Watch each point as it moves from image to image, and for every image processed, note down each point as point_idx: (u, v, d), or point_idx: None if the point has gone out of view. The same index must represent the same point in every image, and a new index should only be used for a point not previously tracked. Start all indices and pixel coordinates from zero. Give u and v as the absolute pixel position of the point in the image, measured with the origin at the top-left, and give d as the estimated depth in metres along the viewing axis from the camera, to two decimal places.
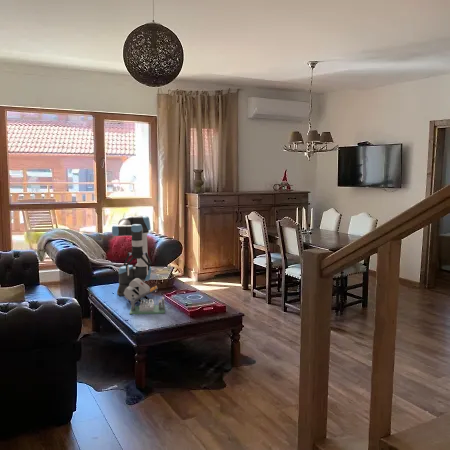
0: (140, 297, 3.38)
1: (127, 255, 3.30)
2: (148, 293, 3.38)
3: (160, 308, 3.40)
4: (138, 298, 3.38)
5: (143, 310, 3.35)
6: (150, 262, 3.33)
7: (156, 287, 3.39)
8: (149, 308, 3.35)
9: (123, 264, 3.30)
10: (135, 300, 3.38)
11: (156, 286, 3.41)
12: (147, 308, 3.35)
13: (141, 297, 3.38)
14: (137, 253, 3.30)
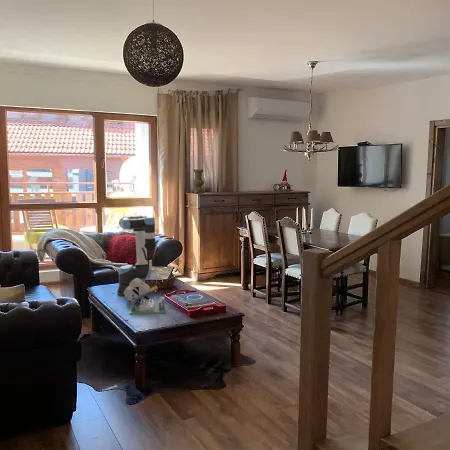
0: (140, 297, 3.38)
1: (142, 250, 3.42)
2: (148, 293, 3.38)
3: (160, 308, 3.40)
4: (138, 298, 3.38)
5: (143, 310, 3.35)
6: (155, 257, 3.44)
7: (156, 287, 3.39)
8: (149, 308, 3.35)
9: (145, 259, 3.43)
10: (135, 300, 3.38)
11: (156, 286, 3.41)
12: (147, 308, 3.35)
13: (141, 297, 3.38)
14: (150, 245, 3.42)
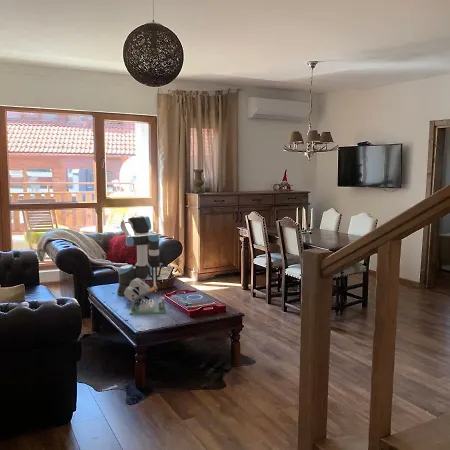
0: (140, 297, 3.38)
1: (146, 267, 3.36)
2: (148, 293, 3.38)
3: (160, 308, 3.40)
4: (138, 298, 3.38)
5: (143, 310, 3.35)
6: (159, 274, 3.38)
7: (156, 287, 3.39)
8: (149, 308, 3.35)
9: (149, 276, 3.37)
10: (135, 300, 3.38)
11: (156, 286, 3.41)
12: (147, 308, 3.35)
13: (141, 297, 3.38)
14: (154, 262, 3.36)
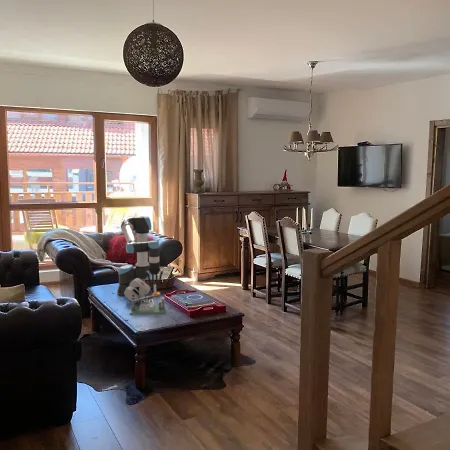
0: (141, 299, 3.38)
1: (146, 274, 3.36)
2: (150, 297, 3.39)
3: (160, 308, 3.40)
4: (139, 300, 3.38)
5: (143, 310, 3.35)
6: (159, 281, 3.38)
7: (159, 294, 3.40)
8: (149, 308, 3.35)
9: None
10: (135, 301, 3.38)
11: (159, 293, 3.42)
12: (147, 308, 3.35)
13: (142, 299, 3.38)
14: (154, 269, 3.37)
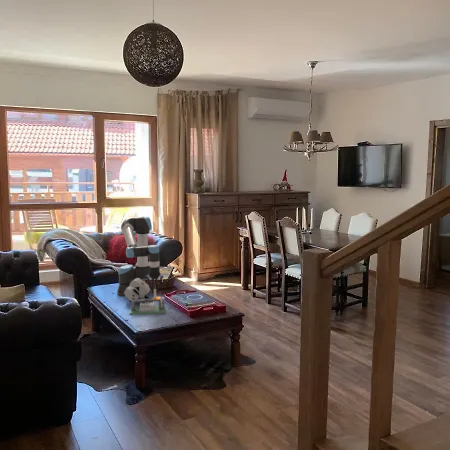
0: (141, 301, 3.38)
1: None
2: (150, 301, 3.39)
3: (160, 308, 3.40)
4: (139, 301, 3.38)
5: (143, 310, 3.35)
6: (159, 286, 3.39)
7: (160, 298, 3.41)
8: (149, 308, 3.35)
9: None
10: (135, 301, 3.38)
11: (160, 297, 3.43)
12: (147, 308, 3.35)
13: (142, 301, 3.38)
14: (154, 273, 3.37)
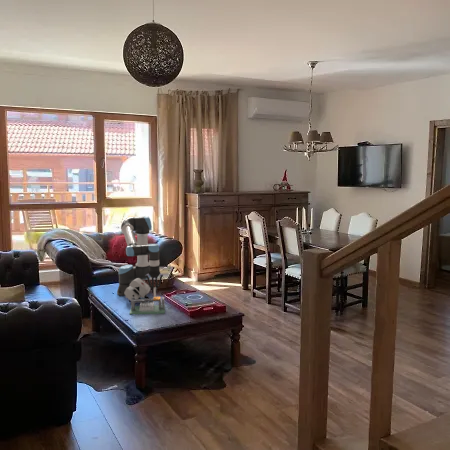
0: (141, 301, 3.38)
1: (146, 277, 3.37)
2: (150, 301, 3.39)
3: (160, 308, 3.40)
4: (139, 301, 3.38)
5: (143, 310, 3.35)
6: (159, 284, 3.39)
7: (160, 298, 3.41)
8: (149, 308, 3.35)
9: (149, 286, 3.38)
10: (135, 301, 3.38)
11: (160, 297, 3.43)
12: (147, 308, 3.35)
13: (142, 301, 3.38)
14: (154, 272, 3.37)
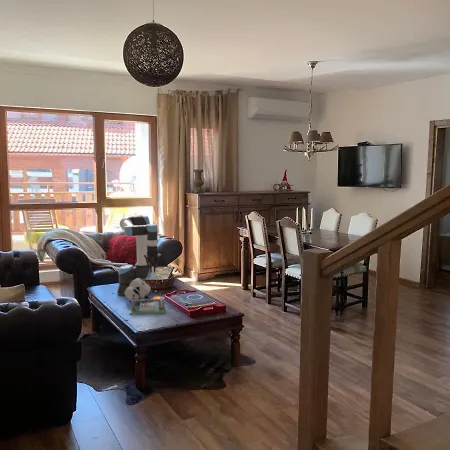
0: (141, 301, 3.38)
1: (144, 257, 3.38)
2: (150, 301, 3.39)
3: (160, 308, 3.40)
4: (139, 301, 3.38)
5: (143, 310, 3.35)
6: (157, 264, 3.40)
7: (160, 298, 3.41)
8: (149, 308, 3.35)
9: (147, 266, 3.39)
10: (135, 301, 3.38)
11: (160, 297, 3.43)
12: (147, 308, 3.35)
13: (142, 301, 3.38)
14: (152, 252, 3.38)
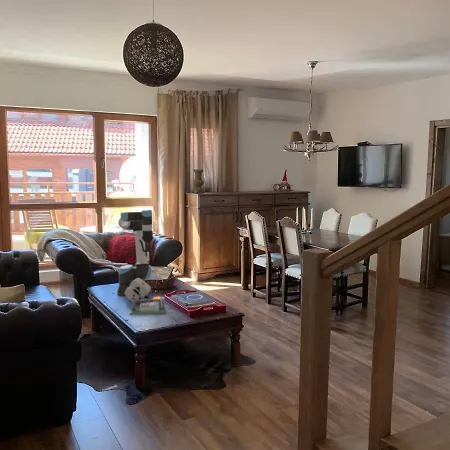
0: (141, 301, 3.38)
1: (140, 242, 3.47)
2: (150, 301, 3.39)
3: (160, 308, 3.40)
4: (139, 301, 3.38)
5: (143, 310, 3.35)
6: (152, 249, 3.49)
7: (160, 298, 3.41)
8: (149, 308, 3.35)
9: (143, 251, 3.48)
10: (135, 301, 3.38)
11: (160, 297, 3.43)
12: (147, 308, 3.35)
13: (142, 301, 3.38)
14: (147, 237, 3.47)
